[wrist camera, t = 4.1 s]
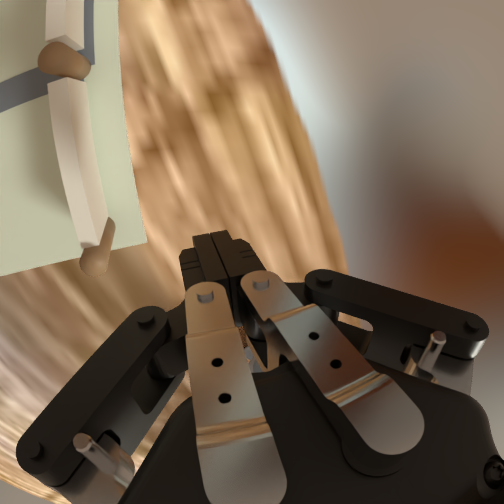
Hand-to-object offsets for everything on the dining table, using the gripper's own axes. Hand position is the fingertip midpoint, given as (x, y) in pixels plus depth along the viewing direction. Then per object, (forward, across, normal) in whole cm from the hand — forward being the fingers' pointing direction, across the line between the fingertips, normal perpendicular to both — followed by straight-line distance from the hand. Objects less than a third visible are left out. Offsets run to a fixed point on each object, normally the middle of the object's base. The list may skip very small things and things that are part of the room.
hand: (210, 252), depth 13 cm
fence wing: (+10, +7, -3) cm, 13 cm away
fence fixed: (+11, +7, -17) cm, 21 cm away
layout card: (+11, +12, -10) cm, 19 cm away
